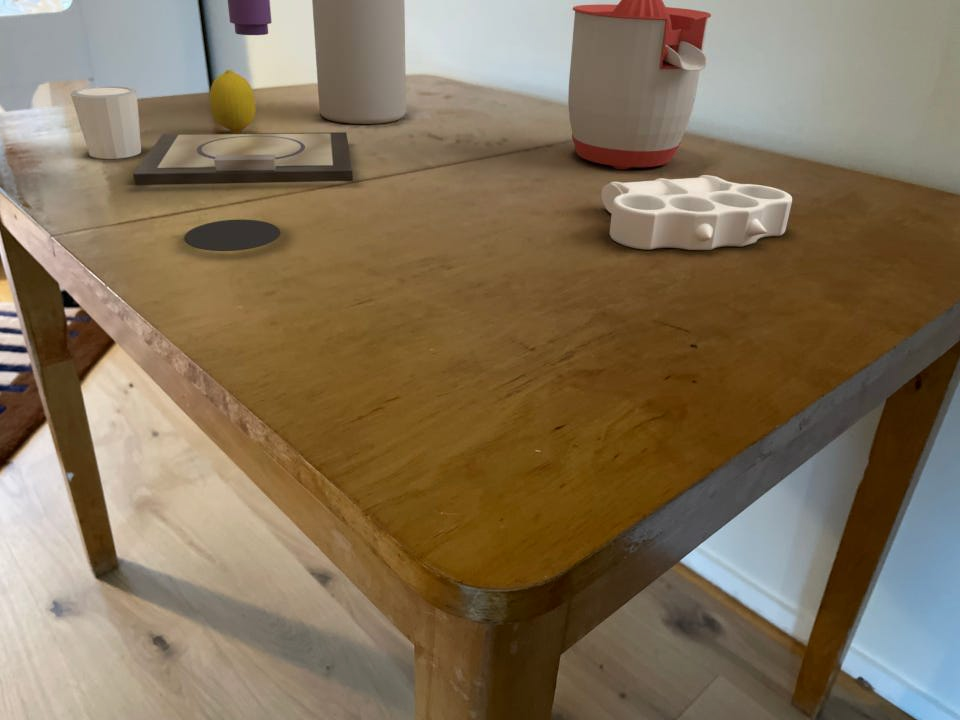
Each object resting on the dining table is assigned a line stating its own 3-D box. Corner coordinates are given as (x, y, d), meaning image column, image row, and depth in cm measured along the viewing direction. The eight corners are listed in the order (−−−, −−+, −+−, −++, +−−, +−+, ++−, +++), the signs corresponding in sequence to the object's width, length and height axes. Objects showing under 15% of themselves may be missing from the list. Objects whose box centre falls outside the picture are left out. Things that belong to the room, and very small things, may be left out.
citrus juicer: (628, 186, 86) (653, -14, 77) (535, 150, 99) (547, -25, 89) (725, 169, 94) (759, -15, 84) (627, 139, 107) (647, -24, 97)
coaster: (178, 256, 64) (177, 252, 63) (191, 224, 71) (190, 220, 70) (279, 253, 65) (278, 248, 65) (282, 222, 72) (281, 218, 72)
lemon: (264, 136, 101) (258, 71, 97) (222, 141, 98) (214, 74, 94) (249, 128, 105) (243, 65, 101) (208, 132, 102) (200, 68, 98)
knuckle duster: (723, 198, 83) (818, 244, 71) (570, 211, 78) (646, 264, 66) (728, 166, 82) (827, 209, 70) (573, 177, 76) (651, 225, 64)
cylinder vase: (404, 108, 120) (400, -78, 108) (408, 125, 110) (405, -79, 98) (321, 107, 119) (309, -81, 107) (317, 125, 108) (303, -82, 96)
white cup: (69, 156, 90) (55, 92, 86) (113, 143, 95) (102, 83, 92) (117, 163, 88) (105, 98, 84) (159, 149, 94) (149, 89, 90)
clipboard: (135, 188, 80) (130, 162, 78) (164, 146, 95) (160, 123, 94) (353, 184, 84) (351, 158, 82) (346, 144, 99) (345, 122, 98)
